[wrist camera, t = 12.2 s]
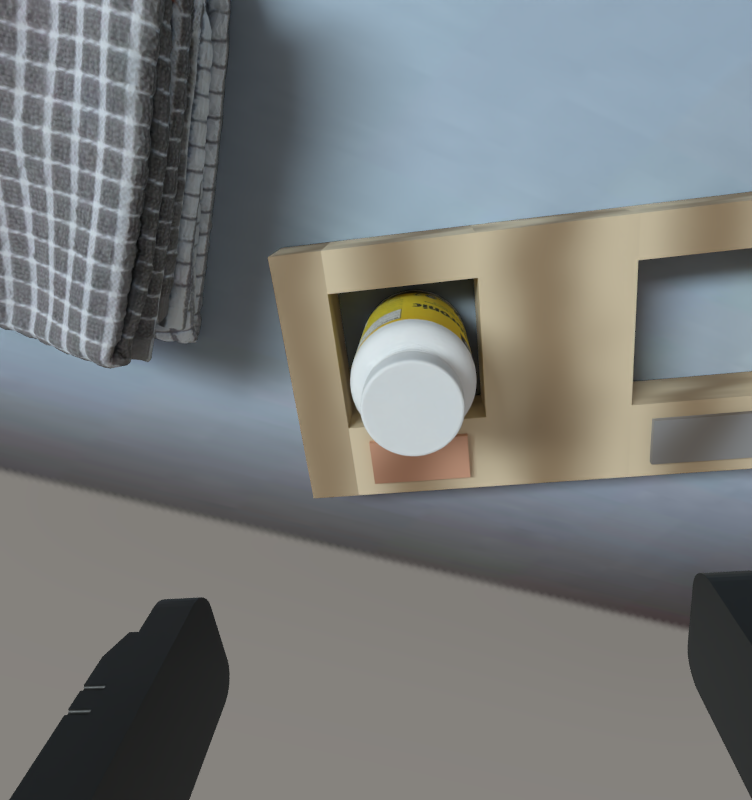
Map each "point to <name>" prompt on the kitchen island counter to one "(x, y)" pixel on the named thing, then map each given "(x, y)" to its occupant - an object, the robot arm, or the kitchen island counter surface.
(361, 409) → the supplement bottle
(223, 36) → the towel
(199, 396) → the kitchen island counter surface
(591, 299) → the socket holder
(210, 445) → the kitchen island counter surface
